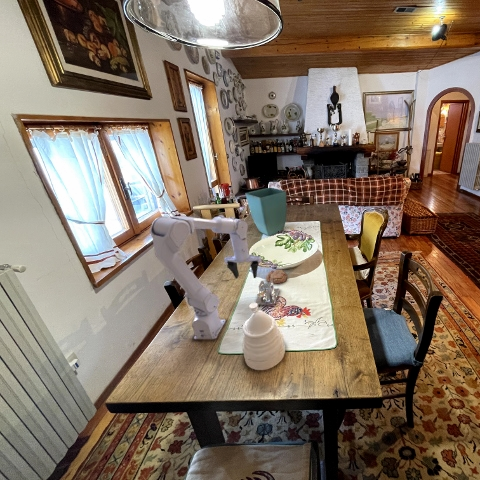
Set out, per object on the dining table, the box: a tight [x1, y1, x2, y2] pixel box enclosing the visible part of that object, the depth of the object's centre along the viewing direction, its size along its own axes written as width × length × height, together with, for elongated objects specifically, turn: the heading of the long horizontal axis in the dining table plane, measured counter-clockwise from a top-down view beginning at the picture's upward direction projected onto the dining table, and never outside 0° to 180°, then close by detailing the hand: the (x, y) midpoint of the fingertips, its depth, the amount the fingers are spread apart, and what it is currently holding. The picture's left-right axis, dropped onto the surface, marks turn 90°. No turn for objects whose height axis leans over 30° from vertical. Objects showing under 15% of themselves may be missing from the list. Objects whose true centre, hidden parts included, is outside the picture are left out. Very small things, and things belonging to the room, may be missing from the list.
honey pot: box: [241, 302, 286, 371], centre depth 78 cm, size 13×13×18 cm
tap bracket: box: [255, 280, 280, 306], centre depth 107 cm, size 10×8×7 cm
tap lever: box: [256, 282, 270, 298], centre depth 103 cm, size 11×3×3 cm, turn 177°
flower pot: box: [244, 187, 288, 237], centre depth 173 cm, size 20×20×28 cm
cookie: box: [265, 269, 288, 285], centre depth 122 cm, size 10×11×3 cm
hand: (246, 277), depth 106 cm, fingers open, 7 cm apart
